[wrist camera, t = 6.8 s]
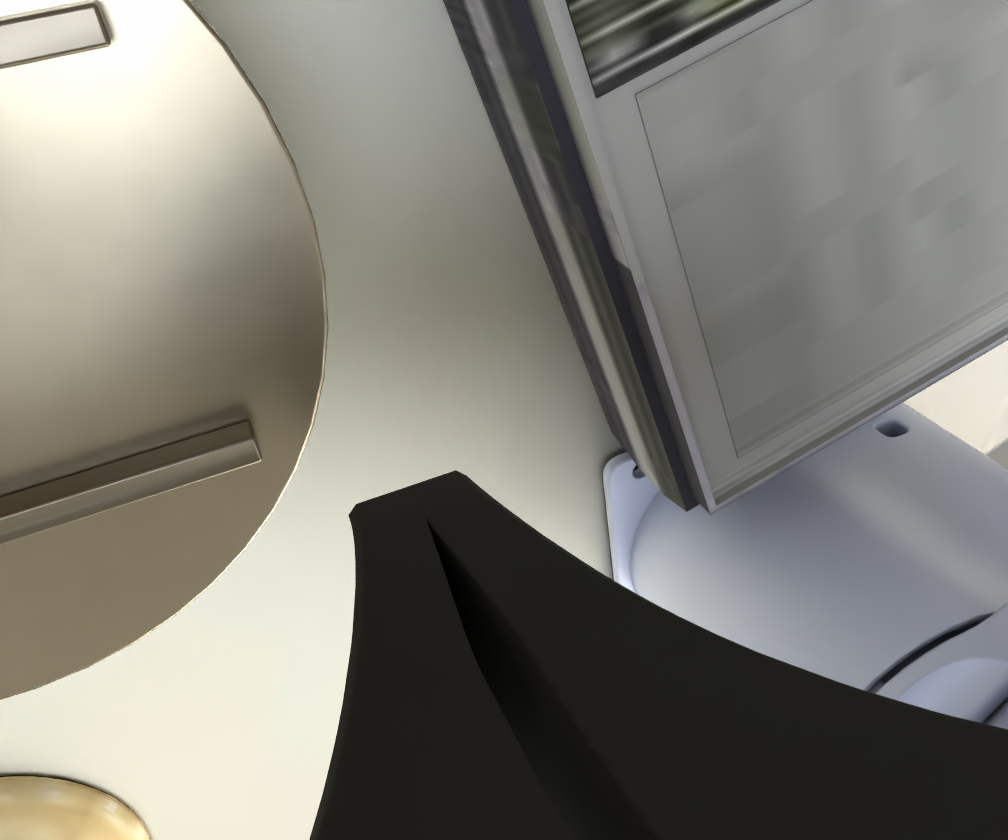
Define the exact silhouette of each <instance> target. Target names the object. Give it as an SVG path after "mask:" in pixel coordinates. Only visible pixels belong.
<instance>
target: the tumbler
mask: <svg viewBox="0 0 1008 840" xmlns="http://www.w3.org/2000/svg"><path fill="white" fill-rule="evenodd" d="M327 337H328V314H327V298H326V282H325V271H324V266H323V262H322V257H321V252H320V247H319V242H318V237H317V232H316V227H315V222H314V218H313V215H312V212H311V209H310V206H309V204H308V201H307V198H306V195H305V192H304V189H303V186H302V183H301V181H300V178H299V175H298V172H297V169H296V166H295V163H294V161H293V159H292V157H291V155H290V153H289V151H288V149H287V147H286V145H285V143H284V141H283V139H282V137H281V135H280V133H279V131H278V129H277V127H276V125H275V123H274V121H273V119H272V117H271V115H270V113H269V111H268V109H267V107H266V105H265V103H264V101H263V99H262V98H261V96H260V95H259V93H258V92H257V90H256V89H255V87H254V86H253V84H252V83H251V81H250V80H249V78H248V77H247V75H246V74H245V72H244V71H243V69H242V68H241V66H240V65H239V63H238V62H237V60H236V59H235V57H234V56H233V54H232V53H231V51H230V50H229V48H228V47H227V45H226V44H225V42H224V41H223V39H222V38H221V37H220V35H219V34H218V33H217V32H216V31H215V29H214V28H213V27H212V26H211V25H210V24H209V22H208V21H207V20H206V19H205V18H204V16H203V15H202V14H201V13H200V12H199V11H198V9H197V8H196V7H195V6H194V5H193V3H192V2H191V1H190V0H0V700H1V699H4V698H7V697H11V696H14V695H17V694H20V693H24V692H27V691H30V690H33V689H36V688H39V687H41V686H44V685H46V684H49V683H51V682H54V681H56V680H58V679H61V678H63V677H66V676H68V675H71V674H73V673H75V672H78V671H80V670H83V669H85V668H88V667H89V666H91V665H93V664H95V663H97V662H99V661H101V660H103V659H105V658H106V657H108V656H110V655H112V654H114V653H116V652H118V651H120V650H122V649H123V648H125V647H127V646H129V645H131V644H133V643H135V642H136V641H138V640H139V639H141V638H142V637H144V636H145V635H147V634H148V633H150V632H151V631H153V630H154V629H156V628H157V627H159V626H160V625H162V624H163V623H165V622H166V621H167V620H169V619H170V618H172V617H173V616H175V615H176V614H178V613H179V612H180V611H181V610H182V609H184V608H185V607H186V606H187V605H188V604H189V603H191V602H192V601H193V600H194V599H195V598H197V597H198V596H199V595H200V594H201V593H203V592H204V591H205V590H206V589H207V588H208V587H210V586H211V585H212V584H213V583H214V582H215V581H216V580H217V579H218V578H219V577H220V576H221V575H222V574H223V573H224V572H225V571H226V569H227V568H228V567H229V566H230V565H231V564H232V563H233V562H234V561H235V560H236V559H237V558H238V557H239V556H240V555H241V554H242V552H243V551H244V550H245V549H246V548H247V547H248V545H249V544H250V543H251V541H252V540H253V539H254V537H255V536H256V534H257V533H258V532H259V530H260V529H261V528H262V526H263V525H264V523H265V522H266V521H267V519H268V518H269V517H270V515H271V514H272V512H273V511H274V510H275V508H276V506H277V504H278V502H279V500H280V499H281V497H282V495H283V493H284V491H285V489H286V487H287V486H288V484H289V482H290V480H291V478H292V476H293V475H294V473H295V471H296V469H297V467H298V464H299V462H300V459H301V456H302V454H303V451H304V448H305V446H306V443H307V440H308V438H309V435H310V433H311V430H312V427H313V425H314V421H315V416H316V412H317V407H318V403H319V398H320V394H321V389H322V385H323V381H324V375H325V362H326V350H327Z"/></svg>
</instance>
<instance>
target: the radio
mask: <svg viewBox="0 0 1008 840" xmlns="http://www.w3.org/2000/svg"><path fill="white" fill-rule="evenodd" d="M443 1H444V3H445V6H446V9H447V11H448V14H449V16H450V19H451V21H452V24H453V27H454V29H455V32H456V34H457V37H458V39H459V42H460V44H461V47H462V50H463V52H464V55H465V57H466V60H467V62H468V65H469V68H470V70H471V73H472V75H473V78H474V80H475V83H476V85H477V88H478V91H479V93H480V96H481V98H482V101H483V103H484V106H485V109H486V111H487V114H488V116H489V119H490V121H491V124H492V126H493V129H494V132H495V134H496V137H497V139H498V142H499V144H500V147H501V149H502V152H503V155H504V157H505V160H506V162H507V165H508V167H509V170H510V173H511V175H512V178H513V180H514V183H515V185H516V188H517V190H518V193H519V196H520V198H521V201H522V203H523V206H524V208H525V211H526V214H527V216H528V219H529V221H530V224H531V226H532V229H533V231H534V234H535V237H536V239H537V242H538V244H539V247H540V249H541V252H542V255H543V257H544V260H545V262H546V265H547V267H548V270H549V272H550V275H551V278H552V280H553V283H554V285H555V288H556V290H557V293H558V296H559V298H560V301H561V303H562V306H563V308H564V311H565V313H566V316H567V319H568V321H569V324H570V326H571V329H572V331H573V334H574V336H575V339H576V342H577V344H578V347H579V349H580V352H581V354H582V357H583V360H584V362H585V365H586V367H587V370H588V372H589V375H590V377H591V380H592V383H593V385H594V388H595V390H596V393H597V395H598V398H599V401H600V403H601V406H602V408H603V411H604V413H605V416H606V418H607V421H608V424H609V426H610V429H611V431H612V433H613V434H614V435H615V437H616V438H617V439H618V441H619V442H620V443H621V445H622V446H623V447H624V449H625V450H626V451H627V453H628V454H629V455H630V457H631V458H632V459H633V461H634V462H635V463H636V465H637V466H638V467H639V468H640V470H641V471H642V472H643V473H644V474H645V475H646V476H647V477H648V478H649V479H650V480H651V482H652V483H653V484H654V485H655V486H656V487H657V488H658V489H659V490H660V491H661V492H662V493H663V495H665V496H666V497H667V498H669V499H670V500H671V501H673V502H674V503H675V504H677V505H678V506H679V507H681V508H682V509H683V510H684V511H686V512H687V511H689V510H691V509H693V508H694V507H696V506H698V505H699V504H700V505H701V506H702V507H703V508H704V509H705V510H706V511H707V512H708V513H709V514H710V515H712V514H714V513H715V512H717V511H719V510H721V509H722V508H724V507H726V506H727V505H729V504H731V503H732V502H734V501H736V500H738V499H739V498H741V497H743V496H744V495H746V494H748V493H749V492H751V491H753V490H754V489H756V488H758V487H760V486H761V485H763V484H765V483H766V482H768V481H770V480H771V479H773V478H775V477H777V476H778V475H780V474H782V473H783V472H785V471H787V470H788V469H790V468H792V467H793V466H795V465H797V464H799V463H800V462H802V461H804V460H805V459H807V458H809V457H810V456H812V455H814V454H816V453H817V452H819V451H821V450H822V449H824V448H826V447H827V446H829V445H831V444H832V443H834V442H836V441H838V440H839V439H841V438H843V437H844V436H846V435H848V434H849V433H851V432H853V431H855V430H856V429H858V428H860V427H861V426H863V425H865V424H866V423H868V422H870V421H871V420H873V419H875V418H877V417H878V416H880V415H882V414H883V413H885V412H887V411H888V410H890V409H892V408H894V407H895V406H897V405H899V404H900V403H902V402H904V401H905V400H907V399H909V398H910V397H912V396H914V395H916V394H917V393H919V392H921V391H922V390H924V389H926V388H927V387H929V386H931V385H933V384H934V383H936V382H938V381H939V380H941V379H943V378H944V377H946V376H948V375H949V374H951V373H953V372H955V371H956V370H958V369H960V368H961V367H963V366H965V365H966V364H968V363H970V362H972V361H973V360H975V359H977V358H978V357H980V356H982V355H983V354H985V353H987V352H988V351H990V350H992V349H994V348H995V347H997V346H999V345H1000V344H1002V343H1004V342H1005V341H1007V340H1008V0H443Z"/></svg>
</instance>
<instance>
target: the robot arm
mask: <svg viewBox="0 0 1008 840" xmlns="http://www.w3.org/2000/svg"><path fill="white" fill-rule="evenodd" d="M635 466H636V463H635V462H634V461H633V459H632V458H631V457H630V455H629V454H628V453H627V452H625V453H623V454H620V455H617V456H615V457H613V458H612V459H611V460H610V461H609V462H608V463H607V464H606V466H605V468H604V471H603V480H604V490H605V499H606V509H607V518H608V528H609V537H610V547H611V556H612V566H613V575H614V580H612V579H610V578H609V577H607V576H605V575H604V574H602V573H600V572H599V571H597V570H595V569H594V568H592V567H591V566H589V565H587V564H586V563H584V562H583V561H581V560H580V559H578V558H577V557H575V556H574V555H572V554H571V553H569V552H568V551H566V550H565V549H563V548H562V547H560V546H559V545H557V544H556V543H554V542H553V541H551V540H550V539H548V538H547V537H545V536H544V535H542V534H541V533H539V532H538V531H537V530H535V529H534V528H532V527H531V526H529V525H528V524H527V523H525V522H524V521H523V520H521V519H520V518H519V517H517V516H516V515H515V514H513V513H512V512H511V511H509V510H508V509H507V508H505V507H504V506H503V505H501V504H500V503H499V502H498V501H496V500H495V499H494V498H493V497H491V496H490V495H489V494H488V493H486V492H485V491H484V490H483V489H481V488H480V487H479V486H478V485H477V484H475V483H474V482H473V481H472V480H471V479H470V478H468V477H467V476H466V475H464V474H462V473H460V472H458V471H453V472H450V473H447V474H444V475H441V476H438V477H435V478H432V479H429V480H426V481H423V482H420V483H417V484H414V485H411V486H408V487H406V488H403V489H400V490H397V491H394V492H391V493H388V494H385V495H382V496H379V497H376V498H373V499H370V500H367V501H364V502H361V503H358V504H356V505H355V506H354V508H353V510H352V511H351V513H350V514H349V518H350V522H351V525H352V529H353V536H354V544H355V560H356V588H355V603H354V619H353V633H352V643H351V651H350V658H349V664H348V671H347V678H346V685H345V692H344V698H343V705H342V710H341V715H340V721H339V726H338V731H337V736H336V740H335V745H334V749H333V754H332V758H331V762H330V766H329V770H328V775H327V779H326V783H325V787H324V791H323V795H322V798H321V802H320V805H319V809H318V812H317V816H316V819H315V823H314V826H313V829H312V833H311V836H310V840H1008V469H1006V468H1005V467H1003V466H1001V465H1000V464H998V463H997V462H995V461H994V460H992V459H991V458H989V457H987V456H986V455H984V454H983V453H981V452H980V451H978V450H976V449H975V448H973V447H972V446H970V445H969V444H967V443H965V442H964V441H962V440H961V439H959V438H958V437H956V436H954V435H953V434H951V433H950V432H948V431H947V430H945V429H943V428H942V427H940V426H939V425H937V424H936V423H934V422H932V421H931V420H929V419H928V418H926V417H925V416H923V415H921V414H920V413H918V412H917V411H915V410H914V409H912V408H911V407H909V406H907V405H906V404H904V403H903V402H902V403H900V404H899V405H897V406H895V407H894V408H892V409H890V410H888V411H887V412H885V413H883V414H882V415H880V416H878V417H877V418H875V419H873V420H871V421H870V422H868V423H866V424H865V425H863V426H861V427H860V428H858V429H856V430H855V431H853V432H851V433H849V434H848V435H846V436H844V437H843V438H841V439H839V440H838V441H836V442H834V443H832V444H831V445H829V446H827V447H826V448H824V449H822V450H821V451H819V452H817V453H816V454H814V455H812V456H810V457H809V458H807V459H805V460H804V461H802V462H800V463H799V464H797V465H795V466H793V467H792V468H790V469H788V470H787V471H785V472H783V473H782V474H780V475H778V476H777V477H775V478H773V479H771V480H770V481H768V482H766V483H765V484H763V485H761V486H760V487H758V488H756V489H754V490H753V491H751V492H749V493H748V494H746V495H744V496H743V497H741V498H739V499H738V500H736V501H734V502H732V503H731V504H729V505H727V506H726V507H724V508H722V509H721V510H719V511H717V512H715V513H714V514H712V515H710V514H709V513H708V512H707V511H706V510H705V509H704V508H703V507H702V506H701V505H700V504H699V505H698V506H696V507H694V508H693V509H691V510H689V511H687V512H686V511H684V510H683V509H682V508H681V507H679V506H678V505H677V504H675V503H674V502H673V501H671V500H670V499H669V498H667V497H666V496H665V495H663V493H662V492H661V491H660V490H659V489H658V488H657V487H656V486H655V485H654V484H653V483H652V482H651V480H650V479H649V478H648V477H647V476H646V475H645V474H644V473H643V472H642V471H641V470H640V468H639V469H637V470H635V471H633V469H634V468H635Z"/></svg>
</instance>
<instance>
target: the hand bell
mask: <svg viewBox="0 0 1008 840" xmlns="http://www.w3.org/2000/svg"><path fill="white" fill-rule="evenodd" d="M0 840H150V837H149V835H148V833H147V830H146V828H145V827H144V825H143V824H142V822H141V820H140V819H139V818H138V816H137V815H136V814H135V812H134V811H132V810H131V809H130V808H129V807H127V806H125V805H124V804H122V803H121V802H120V801H119V800H117V799H116V798H114V797H112V796H110V795H108V794H106V793H103V792H101V791H99V790H97V789H94V788H90V787H88V786H85V785H82V784H78V783H74V782H71V781H67V780H60V779H53V778H44V777H35V776H14V777H0Z"/></svg>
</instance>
